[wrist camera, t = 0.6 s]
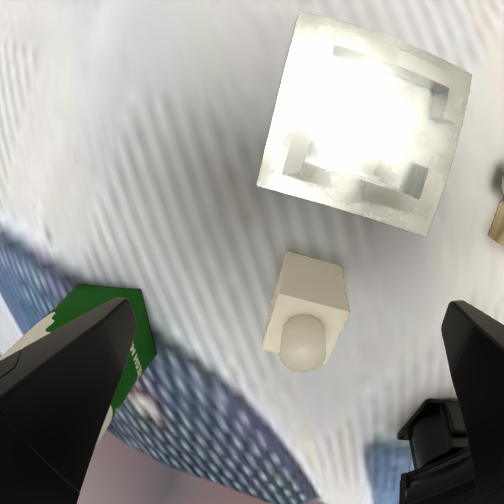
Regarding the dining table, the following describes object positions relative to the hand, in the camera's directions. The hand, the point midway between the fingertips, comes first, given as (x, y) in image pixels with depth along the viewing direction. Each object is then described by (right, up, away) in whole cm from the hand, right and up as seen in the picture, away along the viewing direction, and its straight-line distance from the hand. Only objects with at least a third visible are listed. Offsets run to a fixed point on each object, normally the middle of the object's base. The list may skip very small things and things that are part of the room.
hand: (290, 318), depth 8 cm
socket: (+6, +10, +10) cm, 15 cm away
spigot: (+3, 0, +15) cm, 15 cm away
